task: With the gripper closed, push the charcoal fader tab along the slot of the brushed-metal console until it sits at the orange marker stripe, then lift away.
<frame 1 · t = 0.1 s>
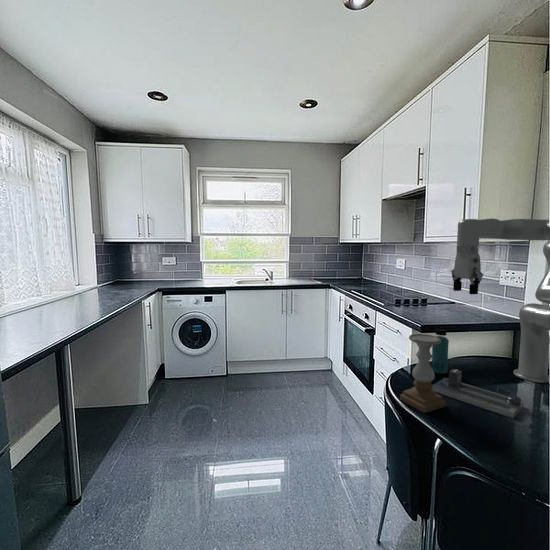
hand: (465, 292, 127), 37 cm above the table, tool pointing down, fingers open, 9 cm apart
candle holder: (422, 403, 112), on the table
beverage bottle: (439, 374, 137), on the table
fader tab: (454, 378, 120), point 5 cm above the table, slide at 0.0 cm
console: (474, 398, 115), on the table
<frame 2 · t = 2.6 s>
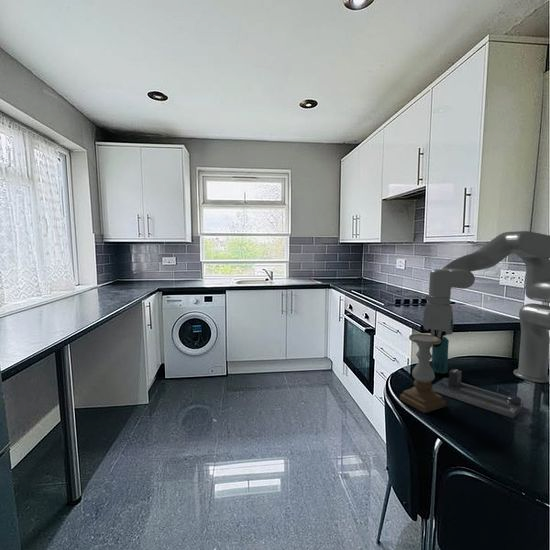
hand: (436, 346, 124), 16 cm above the table, tool pointing down, fingers closed
nothing on the table moved.
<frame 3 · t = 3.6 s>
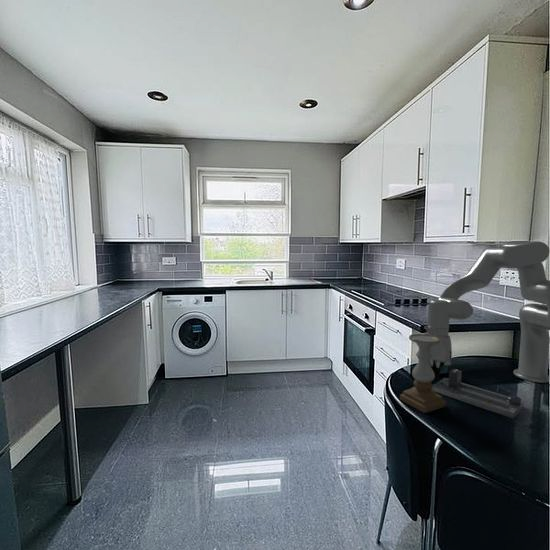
hand: (435, 375, 125), 4 cm above the table, tool pointing down, fingers closed
nothing on the table moved.
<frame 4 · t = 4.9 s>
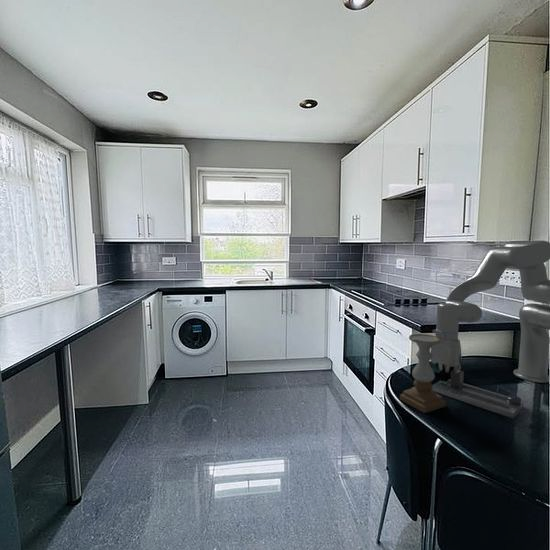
hand: (444, 380, 123), 3 cm above the table, tool pointing down, fingers closed
fader tab: (457, 379, 119), point 5 cm above the table, slide at 0.8 cm, touching gripper
everything else where it was.
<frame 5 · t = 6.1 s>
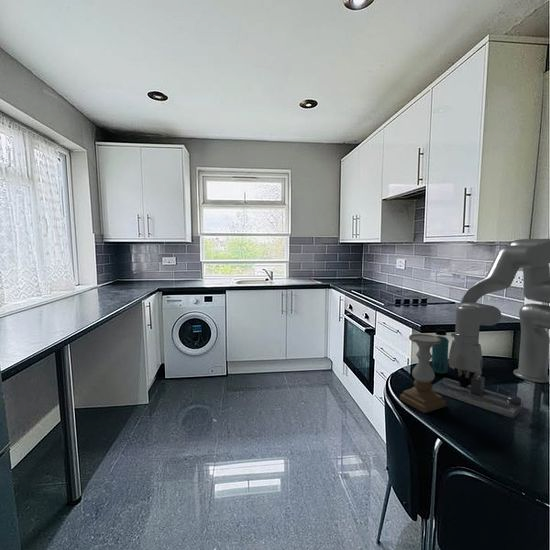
hand: (464, 386, 117), 3 cm above the table, tool pointing down, fingers closed
fader tab: (477, 385, 114), point 5 cm above the table, slide at 7.7 cm, touching gripper
everything else where it was.
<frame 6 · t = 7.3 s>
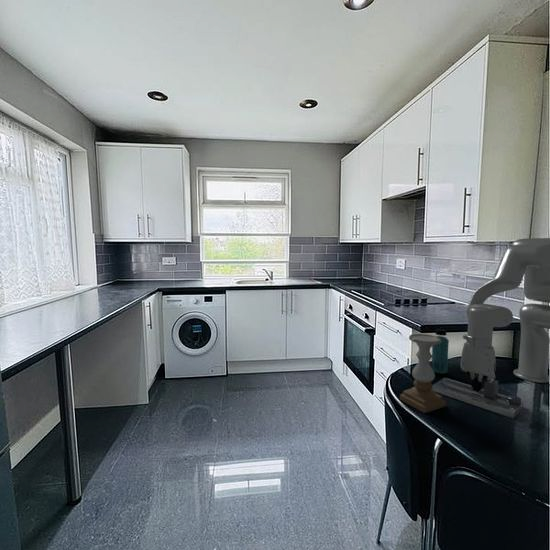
hand: (476, 390, 114), 3 cm above the table, tool pointing down, fingers closed
fader tab: (490, 389, 111), point 5 cm above the table, slide at 11.8 cm, touching gripper
everything else where it was.
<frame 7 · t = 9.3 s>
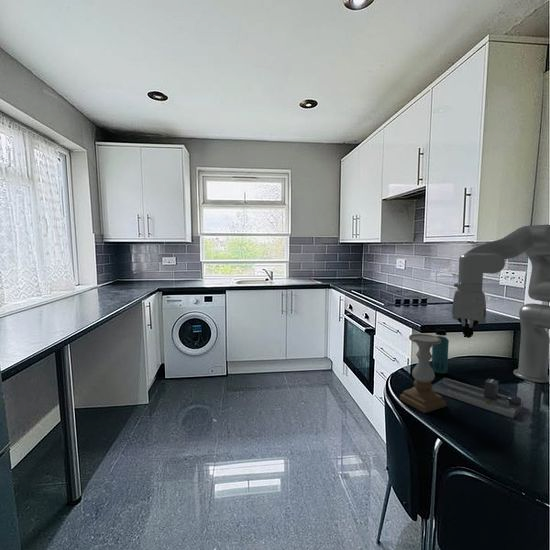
hand: (467, 336, 116), 22 cm above the table, tool pointing down, fingers closed
fader tab: (491, 389, 111), point 5 cm above the table, slide at 11.9 cm
everything else where it was.
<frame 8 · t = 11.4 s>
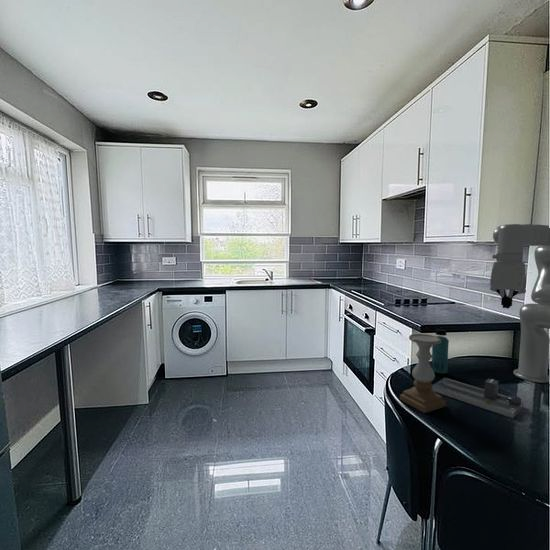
hand: (506, 307, 116), 33 cm above the table, tool pointing down, fingers closed
nothing on the table moved.
at the end: fader tab slide at 11.9 cm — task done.
